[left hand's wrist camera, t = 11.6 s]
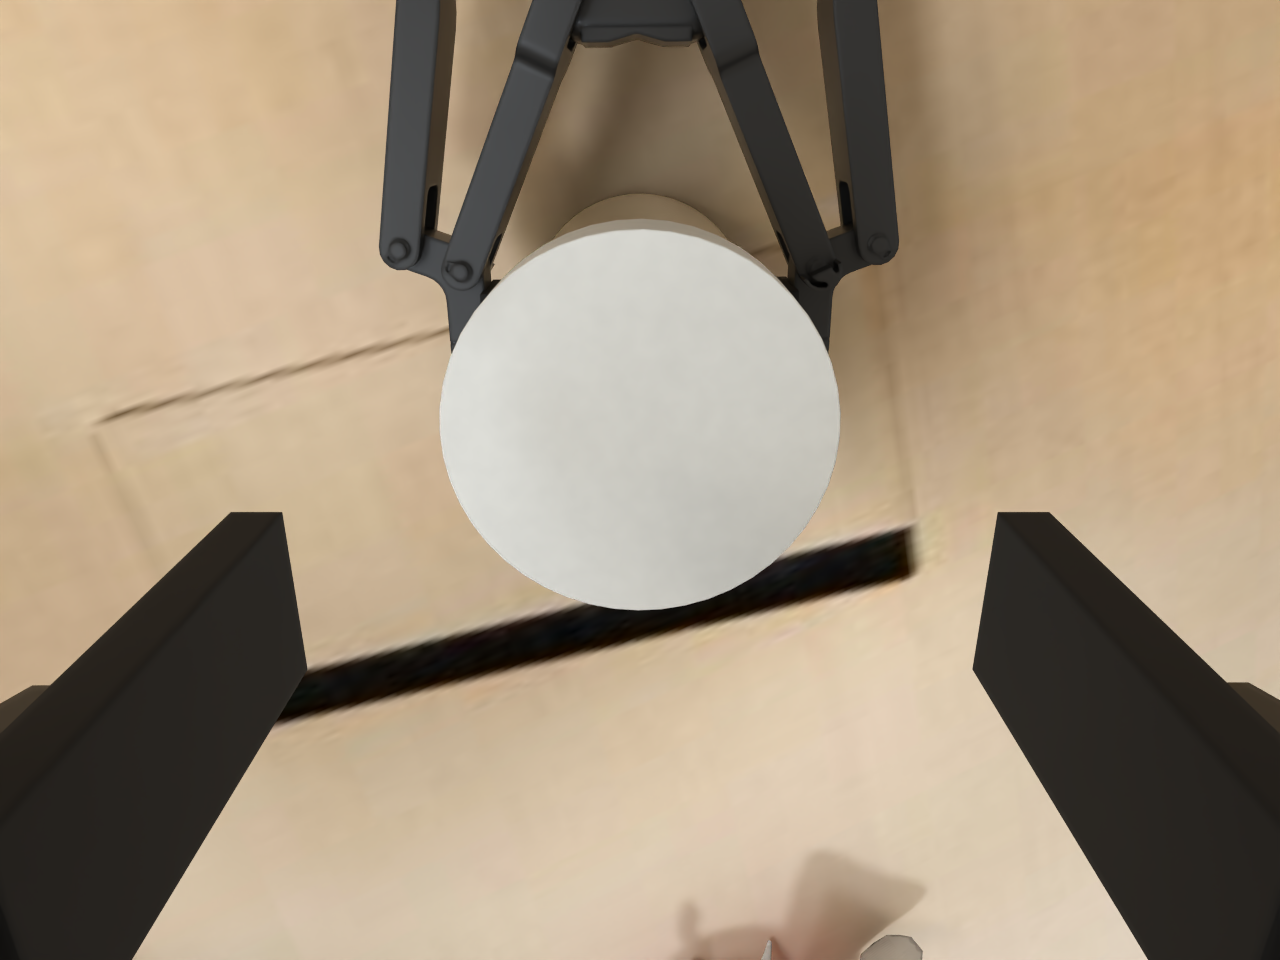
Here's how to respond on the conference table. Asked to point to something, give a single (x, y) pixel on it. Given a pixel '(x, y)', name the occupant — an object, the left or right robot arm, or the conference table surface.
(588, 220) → the jar
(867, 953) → the fish
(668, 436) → the lid
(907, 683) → the conference table surface
